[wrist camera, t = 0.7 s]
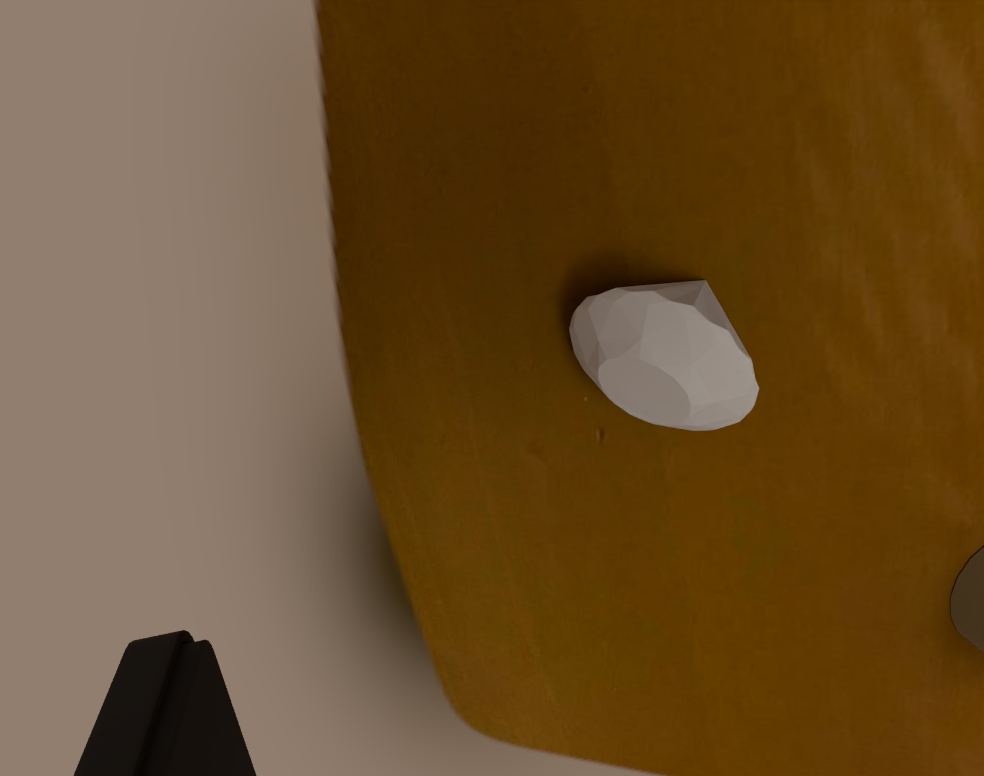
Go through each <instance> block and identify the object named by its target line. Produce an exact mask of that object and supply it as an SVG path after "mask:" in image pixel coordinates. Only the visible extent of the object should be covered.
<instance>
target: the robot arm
mask: <svg viewBox="0 0 984 776" xmlns="http://www.w3.org/2000/svg"><path fill="white" fill-rule="evenodd" d="M74 776H256V773H255V770H254V768H253V764H252V761H251V758H250V756H249V753H248V750H247V747H246V744H245V741H244V738H243V735H242V732H241V729H240V726H239V724H238V720H237V717H236V715H235V712H234V709H233V706H232V703H231V700H230V697H229V694H228V691H227V688H226V685H225V682H224V679H223V676H222V673H221V670H220V667H219V664H218V661H217V659H216V656H215V653H214V650H213V648H212V645H211V644H210V643H209V641H207V640H202V641H197V642H194V640H193V637H192V636H191V635H190V633H189V632H187V631H185V630H182V631H178V632H173V633H168V634H163V635H159V636H154V637H149V638H144V639H139V640H134V641H132V642H131V643H129V645H128V646H127V648H126V650H125V652H124V654H123V657H122V659H121V661H120V664H119V666H118V669H117V671H116V674H115V676H114V679H113V681H112V683H111V686H110V688H109V691H108V693H107V696H106V698H105V700H104V703H103V705H102V708H101V710H100V713H99V715H98V717H97V720H96V723H95V725H94V727H93V730H92V732H91V735H90V737H89V739H88V742H87V744H86V747H85V749H84V752H83V754H82V756H81V759H80V761H79V764H78V766H77V769H76V771H75V773H74Z"/></svg>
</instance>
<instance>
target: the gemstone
mask: <svg viewBox="0 0 984 776" xmlns="http://www.w3.org/2000/svg"><path fill="white" fill-rule="evenodd" d="M569 332H570V336H571V341H572V345H573V350H574V354H575V356H576V357H577V359H578V361H579V363H580V365H581V366H582V368H583V370H584V371H585V372H586V373H587V375H588V376H589V377H590V378H591V379H592V380H593V381H594V383H595V384H596V385H597V386H598V387H599V388H600V389H601V390H602V392H603V393H604V394H605V395H606V396H607V397H608V398H609V400H611V401H612V402H613V403H614V404H616V405H617V406H619V407H620V408H622V409H623V410H624V411H626V412H627V413H629V414H630V415H633V416H635V417H637V418H640V419H642V420H644V421H647V422H649V423H652V424H657V425H662V426H668V427H674V428H680V429H686V430H692V431H699V430H715V429H718V428H722V427H725V426H728V425H731V424H734V423H738V422H740V421H741V420H742V419H743V418H744V417H745V416H746V415H747V414H748V413H749V412H750V411H751V409H752V408H753V406H754V404H755V401H756V398H757V394H758V391H759V387H758V384H757V382H756V380H755V376H754V370H753V364H752V360H751V358H750V356H749V355H748V353H747V351H746V349H745V348H744V346H743V344H742V342H741V341H740V339H739V337H738V335H737V334H736V332H735V330H734V328H733V327H732V325H731V323H730V321H729V320H728V318H727V316H726V314H725V313H724V311H723V309H722V307H721V306H720V304H719V302H718V300H717V299H716V297H715V295H714V294H713V292H712V290H711V288H710V287H709V285H708V283H707V281H706V280H700V281H688V282H677V283H665V284H654V285H642V286H631V287H619V288H614V289H611V290H609V291H606V292H604V293H601V294H599V295H594V296H588V297H587V298H586V299H585V300H584V301H583V302H582V303H581V304H580V305H579V306H578V307H577V309H576V310H575V312H574V313H573V316H572V320H571V323H570V327H569Z"/></svg>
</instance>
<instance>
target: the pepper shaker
mask: <svg viewBox="0 0 984 776" xmlns="http://www.w3.org/2000/svg"><path fill="white" fill-rule="evenodd" d="M951 618H952V620H953V622H954V625H955V627H956V629H957V631H958V632H959V633H960V634H961V635H962V636H964V637H965V638H966V639H967V640H968V641H969V642H971V643H972V644H973V645H975V646H976V647H978V648H979V649H980V650H982V651H983V652H984V547H983V548H982V549H981V550H980V551H978V552H977V553H976V554H975V555H974V556H973V557H972V558H971V559H970V560H969V562H968V563H967V564H966V566H965V567H964V569H963V570H962V572H961V573H960V575H959V576H958V578H957V580H956V583H955V586H954V589H953V592H952V595H951Z"/></svg>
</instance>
